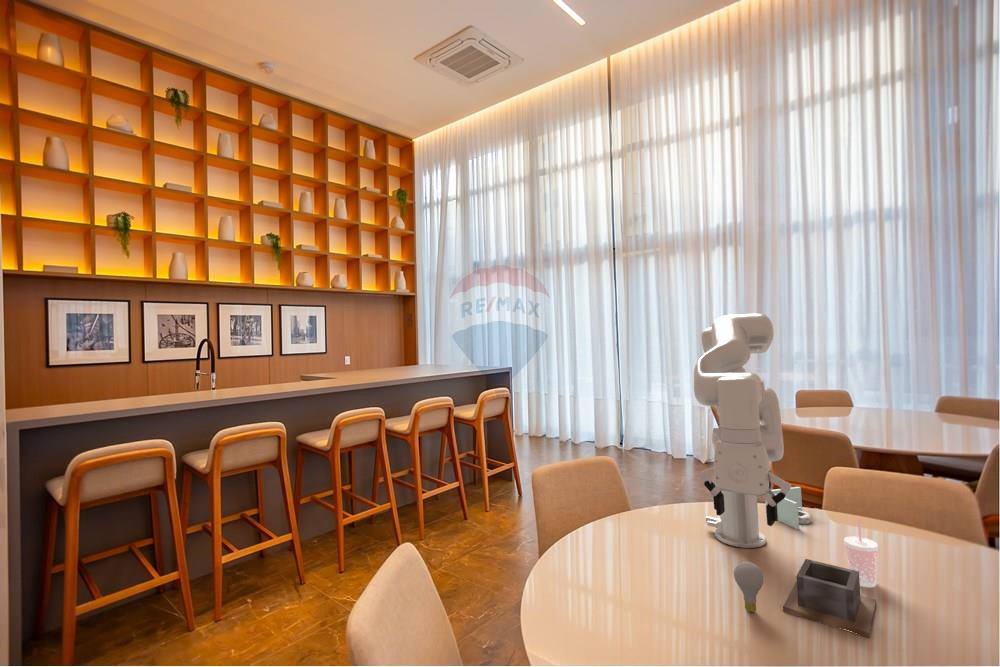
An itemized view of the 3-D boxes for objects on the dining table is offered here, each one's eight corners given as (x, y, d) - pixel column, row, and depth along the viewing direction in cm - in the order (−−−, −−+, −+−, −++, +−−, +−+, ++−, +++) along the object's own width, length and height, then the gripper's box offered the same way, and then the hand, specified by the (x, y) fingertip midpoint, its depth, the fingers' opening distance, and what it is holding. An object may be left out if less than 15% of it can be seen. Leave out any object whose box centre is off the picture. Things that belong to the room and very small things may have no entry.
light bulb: (769, 620, 93) (766, 569, 94) (740, 618, 95) (737, 568, 95) (760, 604, 99) (757, 557, 99) (732, 603, 100) (729, 556, 100)
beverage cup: (871, 592, 101) (867, 527, 102) (840, 580, 107) (836, 518, 107) (886, 584, 104) (882, 520, 104) (855, 572, 110) (851, 512, 110)
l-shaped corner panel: (796, 529, 135) (794, 503, 135) (766, 514, 147) (764, 490, 147) (832, 524, 137) (830, 498, 137) (799, 510, 149) (798, 486, 149)
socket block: (783, 611, 96) (780, 577, 96) (797, 583, 106) (795, 552, 107) (869, 638, 87) (866, 600, 87) (876, 604, 97) (874, 570, 97)
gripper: (691, 434, 100) (695, 515, 100) (783, 443, 89) (789, 534, 88) (703, 429, 106) (708, 505, 105) (792, 436, 94) (797, 522, 94)
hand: (745, 518), depth 97 cm, fingers open, 9 cm apart
